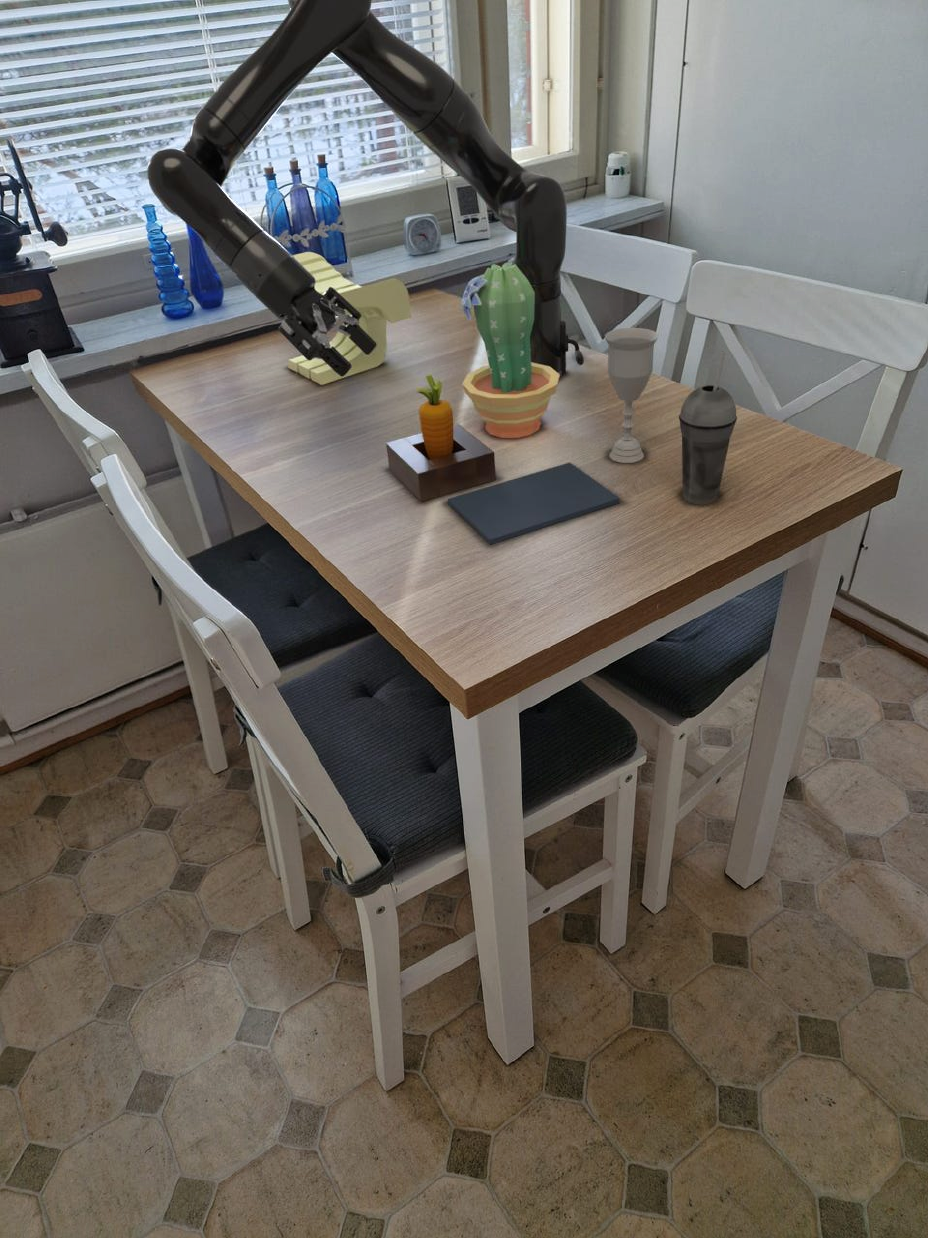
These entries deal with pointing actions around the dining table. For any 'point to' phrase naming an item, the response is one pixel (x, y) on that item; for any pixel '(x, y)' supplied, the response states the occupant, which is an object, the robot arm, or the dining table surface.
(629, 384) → the chalice
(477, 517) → the mat
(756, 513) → the dining table surface
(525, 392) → the potted cactus
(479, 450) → the stand
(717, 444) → the beverage cup
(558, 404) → the dining table surface
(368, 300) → the slatted curved stool
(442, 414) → the carrot
